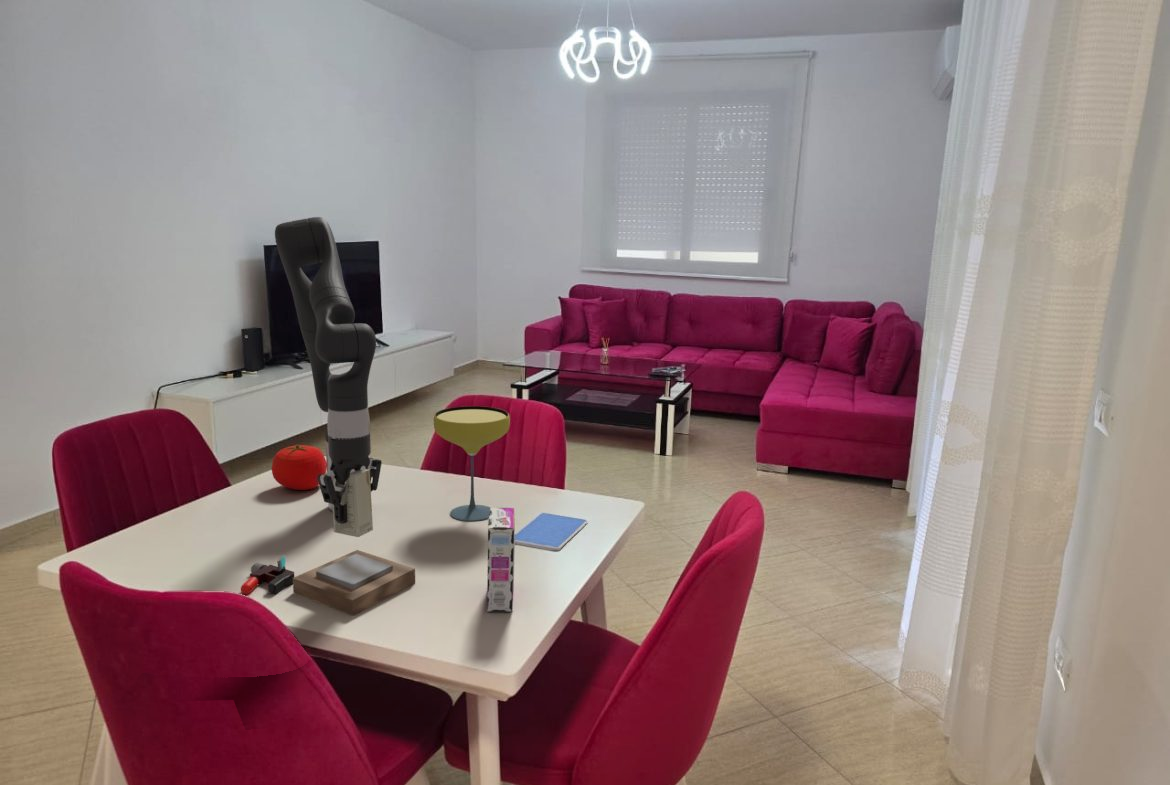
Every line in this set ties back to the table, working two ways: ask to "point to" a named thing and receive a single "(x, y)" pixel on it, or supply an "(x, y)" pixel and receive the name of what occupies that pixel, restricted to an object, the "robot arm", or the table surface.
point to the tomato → (298, 467)
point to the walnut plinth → (354, 581)
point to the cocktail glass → (471, 442)
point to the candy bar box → (500, 560)
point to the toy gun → (269, 577)
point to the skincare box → (357, 506)
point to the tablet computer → (549, 531)
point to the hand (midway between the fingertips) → (352, 517)
